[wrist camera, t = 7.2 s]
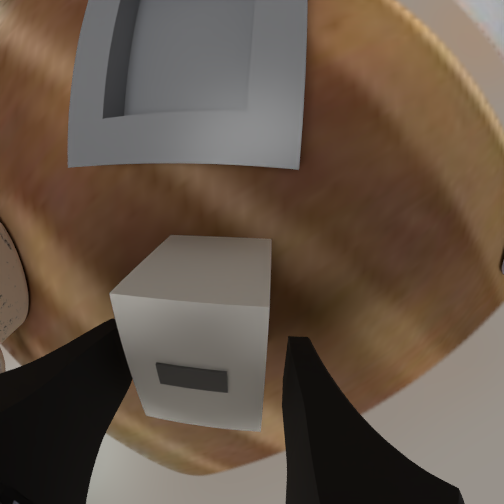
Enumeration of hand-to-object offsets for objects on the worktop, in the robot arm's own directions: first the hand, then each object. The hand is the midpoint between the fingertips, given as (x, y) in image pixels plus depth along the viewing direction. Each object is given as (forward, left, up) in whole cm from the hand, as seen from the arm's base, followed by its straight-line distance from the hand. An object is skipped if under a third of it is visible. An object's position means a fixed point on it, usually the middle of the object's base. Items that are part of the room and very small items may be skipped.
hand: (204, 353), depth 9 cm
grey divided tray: (+1, -14, -4) cm, 14 cm away
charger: (0, 0, -3) cm, 3 cm away
